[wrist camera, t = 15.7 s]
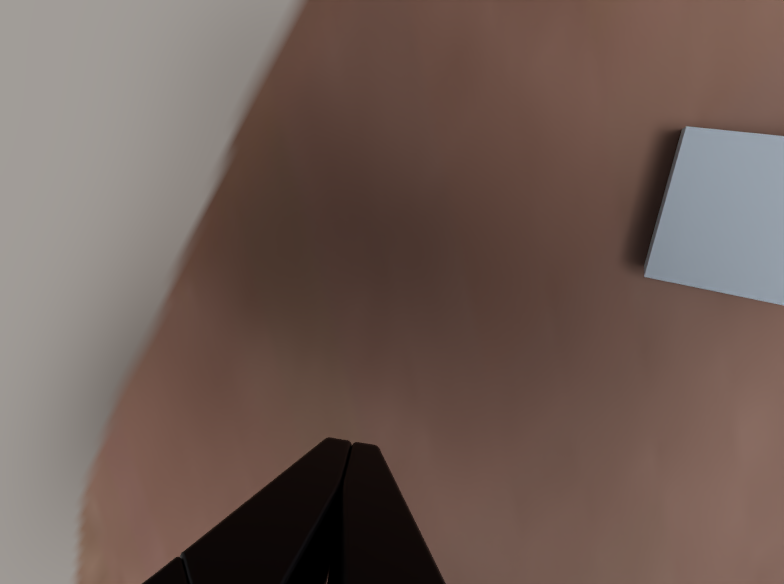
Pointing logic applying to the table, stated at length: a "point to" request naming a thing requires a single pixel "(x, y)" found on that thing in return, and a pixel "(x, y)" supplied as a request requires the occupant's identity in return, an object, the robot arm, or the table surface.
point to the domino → (723, 215)
